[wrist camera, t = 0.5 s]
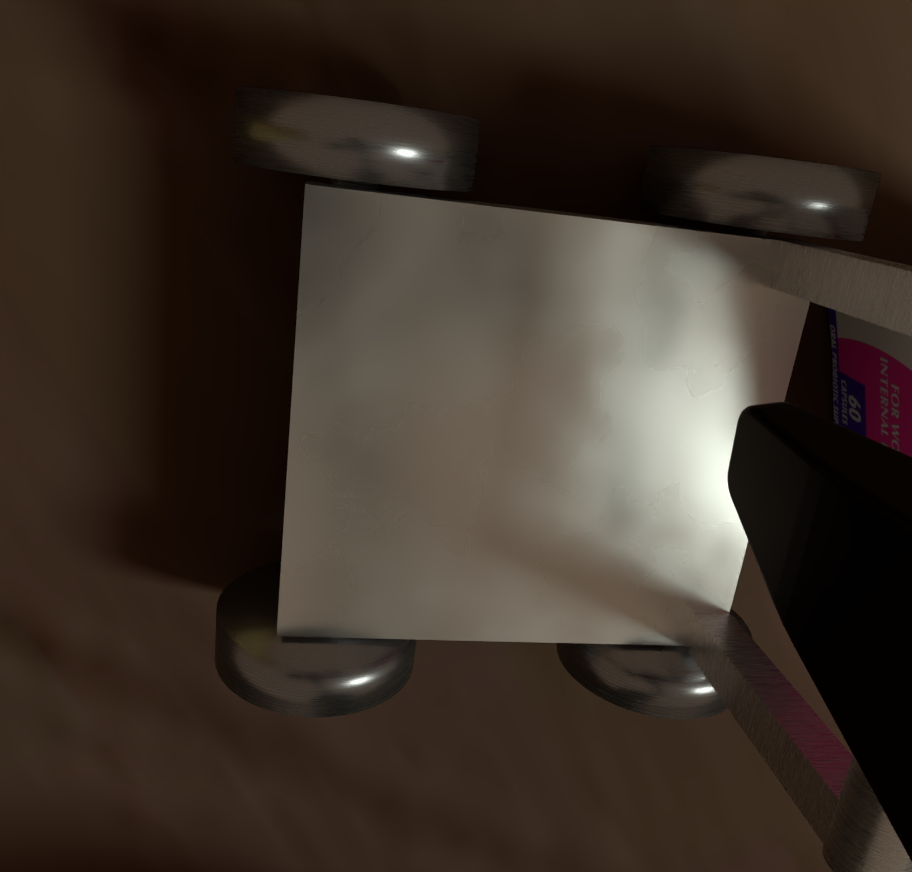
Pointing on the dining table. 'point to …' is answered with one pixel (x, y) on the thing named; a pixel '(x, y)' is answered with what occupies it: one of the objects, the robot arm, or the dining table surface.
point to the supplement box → (872, 380)
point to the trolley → (542, 429)
